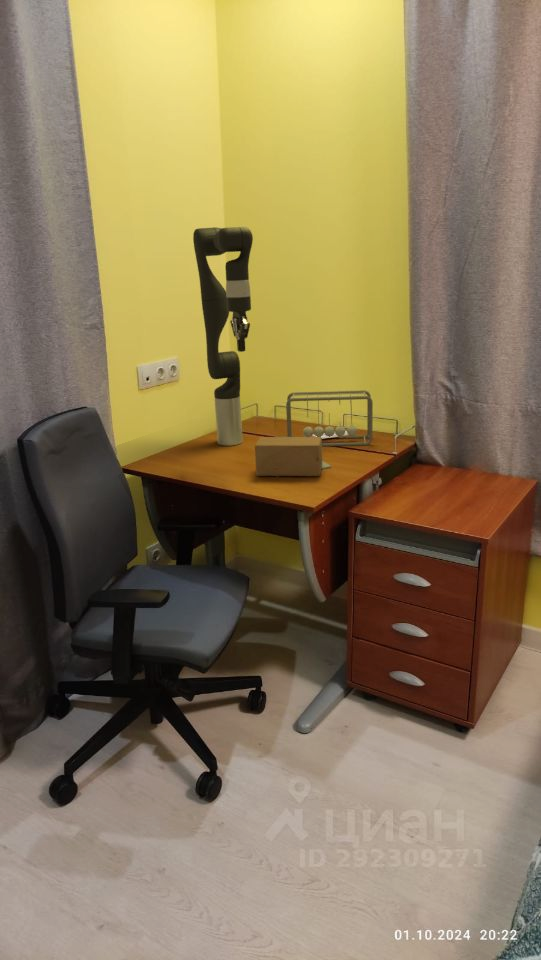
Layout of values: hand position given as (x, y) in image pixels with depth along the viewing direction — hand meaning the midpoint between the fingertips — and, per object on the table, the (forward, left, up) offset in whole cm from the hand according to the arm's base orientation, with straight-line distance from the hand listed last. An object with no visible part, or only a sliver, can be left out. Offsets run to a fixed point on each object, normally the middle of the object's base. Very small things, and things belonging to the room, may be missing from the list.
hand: (241, 351), depth 226 cm
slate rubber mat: (+10, +12, -37) cm, 40 cm away
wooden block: (+12, -1, -32) cm, 34 cm away
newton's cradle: (-9, +34, -37) cm, 51 cm away
